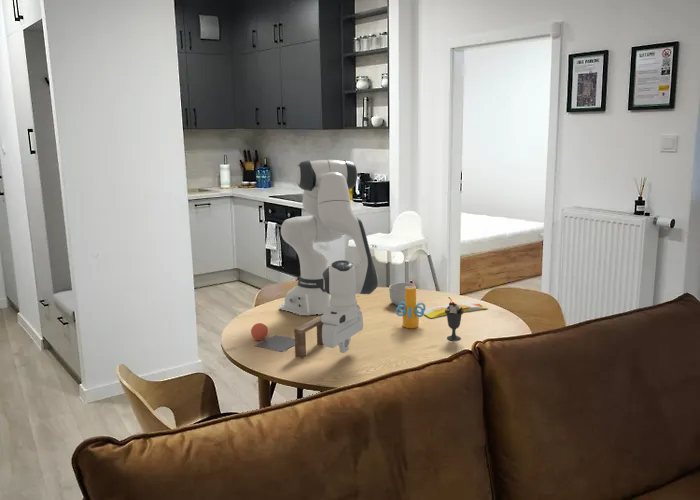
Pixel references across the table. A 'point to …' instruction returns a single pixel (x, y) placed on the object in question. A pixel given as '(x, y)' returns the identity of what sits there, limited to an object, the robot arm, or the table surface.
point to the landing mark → (277, 343)
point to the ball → (259, 331)
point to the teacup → (398, 292)
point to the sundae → (453, 319)
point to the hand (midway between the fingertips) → (344, 351)
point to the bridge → (301, 337)
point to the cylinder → (410, 308)
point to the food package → (440, 310)
